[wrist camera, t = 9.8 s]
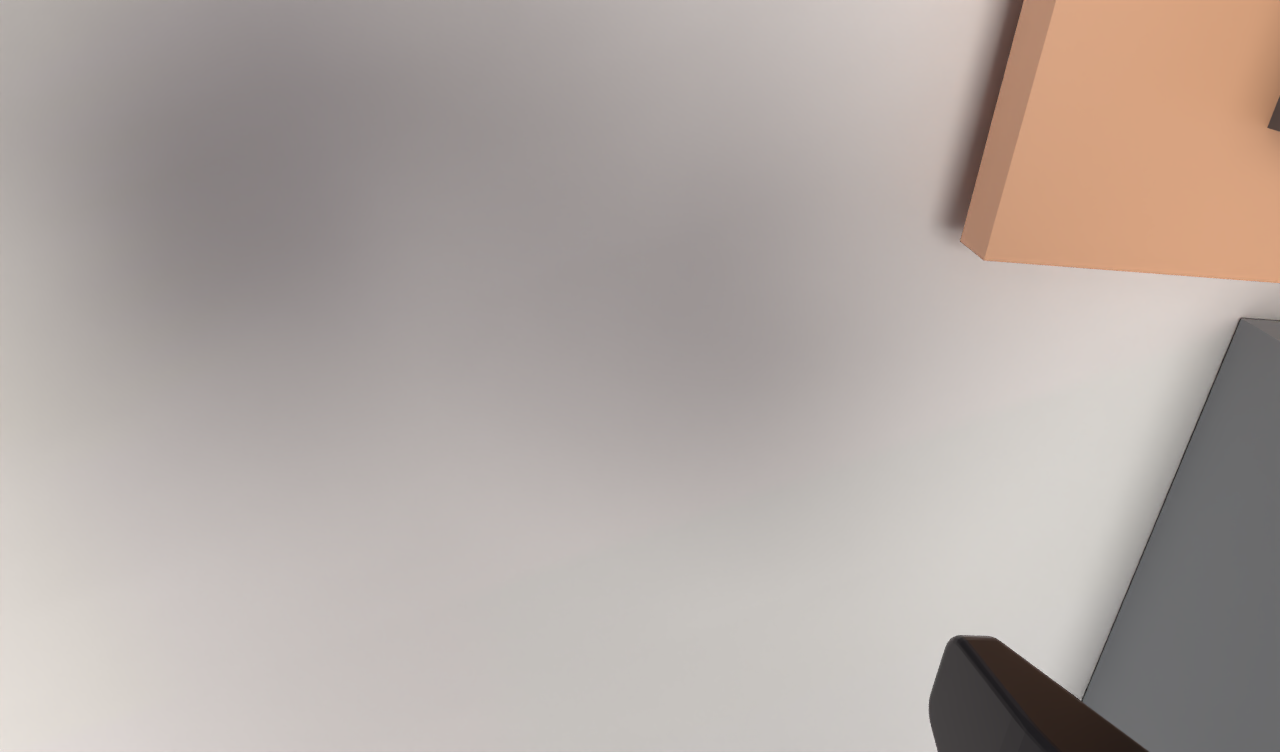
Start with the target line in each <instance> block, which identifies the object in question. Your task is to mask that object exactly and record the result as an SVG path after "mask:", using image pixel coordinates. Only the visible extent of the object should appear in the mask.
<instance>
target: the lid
mask: <svg viewBox="0 0 1280 752" xmlns="http://www.w3.org/2000/svg"><path fill="white" fill-rule="evenodd" d="M960 242H962V243H963V244H964V245H965V246H967V247H968V248H969V249H970V250H972V251H973V252H974V253H975V254H977V255H978V256H979V257H980V258H981V259H983V260H985V261H998V262H1011V263H1024V264H1037V265H1050V266H1063V267H1076V268H1089V269H1103V270H1116V271H1129V272H1142V273H1155V274H1168V275H1181V276H1194V277H1207V278H1220V279H1233V280H1246V281H1259V282H1273V283H1280V0H1024V1H1023V5H1022V9H1021V13H1020V16H1019V20H1018V24H1017V28H1016V32H1015V35H1014V39H1013V43H1012V47H1011V51H1010V54H1009V58H1008V62H1007V66H1006V69H1005V73H1004V77H1003V81H1002V85H1001V88H1000V92H999V96H998V100H997V104H996V107H995V111H994V115H993V119H992V122H991V126H990V130H989V134H988V138H987V141H986V145H985V149H984V153H983V157H982V160H981V164H980V168H979V172H978V175H977V179H976V183H975V187H974V191H973V194H972V198H971V202H970V206H969V210H968V213H967V217H966V221H965V225H964V228H963V232H962V236H961V240H960Z"/></svg>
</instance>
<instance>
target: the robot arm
mask: <svg viewBox="0 0 1280 752" xmlns="http://www.w3.org/2000/svg"><path fill="white" fill-rule="evenodd" d="M929 718H930V723H931V727H932V731H933V735H934V739H935V743H936V746H937V750H938V752H1149V751H1148V750H1147V749H1145V748H1144V747H1142V746H1141V745H1140V744H1138V743H1137V742H1136V741H1134V740H1133V739H1132V738H1130V737H1129V736H1128V735H1126V734H1125V733H1124V732H1122V731H1121V730H1120V729H1118V728H1117V727H1115V726H1114V725H1113V724H1111V723H1110V722H1109V721H1107V720H1106V719H1105V718H1103V717H1102V716H1101V715H1099V714H1098V713H1097V712H1095V711H1094V710H1093V709H1091V708H1090V707H1088V706H1087V705H1086V704H1084V703H1083V702H1082V701H1080V700H1079V699H1078V698H1076V697H1075V696H1074V695H1072V694H1071V693H1070V692H1068V691H1067V690H1066V689H1064V688H1063V687H1062V686H1060V685H1059V684H1057V683H1056V682H1055V681H1053V680H1052V679H1051V678H1049V677H1048V676H1047V675H1045V674H1044V673H1043V672H1041V671H1040V670H1039V669H1037V668H1036V667H1035V666H1033V665H1032V664H1030V663H1029V662H1028V661H1026V660H1025V659H1024V658H1022V657H1021V656H1020V655H1018V654H1017V653H1016V652H1014V651H1013V650H1012V649H1010V648H1009V647H1008V646H1006V645H1005V644H1003V643H1002V642H1001V641H999V640H998V639H996V638H994V637H990V636H971V635H958V636H955V637H952V638H951V639H950V640H949V642H948V643H947V645H946V647H945V650H944V653H943V656H942V659H941V663H940V666H939V669H938V672H937V675H936V678H935V682H934V685H933V688H932V691H931V694H930V699H929Z"/></svg>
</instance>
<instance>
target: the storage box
mask: <svg viewBox="0 0 1280 752" xmlns="http://www.w3.org/2000/svg"><path fill="white" fill-rule="evenodd" d="M1082 702H1083V703H1084V704H1086V705H1087V706H1088V707H1090V708H1091V709H1093V710H1094V711H1095V712H1097V713H1098V714H1099V715H1101V716H1102V717H1103V718H1105V719H1106V720H1107V721H1109V722H1110V723H1111V724H1113V725H1114V726H1115V727H1117V728H1118V729H1120V730H1121V731H1122V732H1124V733H1125V734H1126V735H1128V736H1129V737H1130V738H1132V739H1133V740H1134V741H1136V742H1137V743H1138V744H1140V745H1141V746H1142V747H1144V748H1145V749H1147V750H1148V751H1149V752H1280V321H1274V320H1260V319H1245V318H1241V320H1240V323H1239V325H1238V327H1237V330H1236V332H1235V335H1234V337H1233V339H1232V342H1231V344H1230V347H1229V349H1228V351H1227V354H1226V356H1225V359H1224V361H1223V363H1222V366H1221V368H1220V371H1219V373H1218V375H1217V378H1216V380H1215V383H1214V385H1213V388H1212V390H1211V392H1210V395H1209V397H1208V400H1207V402H1206V404H1205V407H1204V409H1203V412H1202V414H1201V416H1200V419H1199V421H1198V424H1197V426H1196V428H1195V431H1194V433H1193V436H1192V438H1191V441H1190V443H1189V445H1188V448H1187V450H1186V453H1185V455H1184V457H1183V460H1182V462H1181V465H1180V467H1179V469H1178V472H1177V474H1176V477H1175V479H1174V481H1173V484H1172V486H1171V489H1170V491H1169V493H1168V496H1167V498H1166V501H1165V503H1164V506H1163V508H1162V510H1161V513H1160V515H1159V518H1158V520H1157V522H1156V525H1155V527H1154V530H1153V532H1152V534H1151V537H1150V539H1149V542H1148V544H1147V546H1146V549H1145V551H1144V554H1143V556H1142V559H1141V561H1140V563H1139V566H1138V568H1137V571H1136V573H1135V575H1134V578H1133V580H1132V583H1131V585H1130V587H1129V590H1128V592H1127V595H1126V597H1125V599H1124V602H1123V604H1122V607H1121V609H1120V611H1119V614H1118V616H1117V619H1116V621H1115V624H1114V626H1113V628H1112V631H1111V633H1110V636H1109V638H1108V640H1107V643H1106V645H1105V648H1104V650H1103V652H1102V655H1101V657H1100V660H1099V662H1098V664H1097V667H1096V669H1095V672H1094V674H1093V677H1092V679H1091V681H1090V684H1089V686H1088V689H1087V691H1086V693H1085V696H1084V698H1083V701H1082Z"/></svg>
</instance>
